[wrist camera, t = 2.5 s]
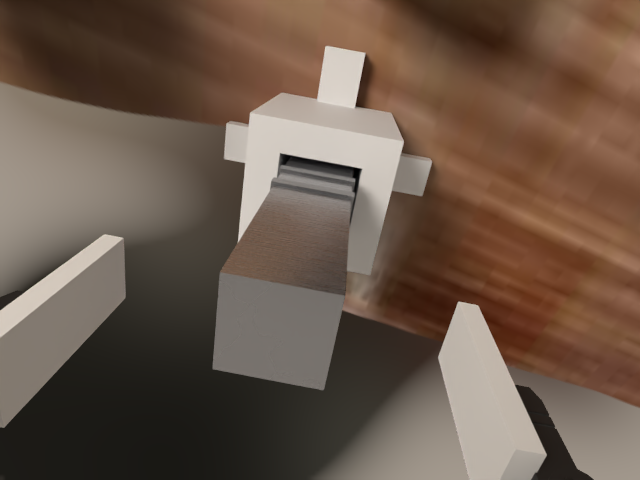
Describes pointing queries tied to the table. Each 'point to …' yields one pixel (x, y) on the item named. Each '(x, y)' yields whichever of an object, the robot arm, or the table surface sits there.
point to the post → (288, 278)
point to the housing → (329, 150)
